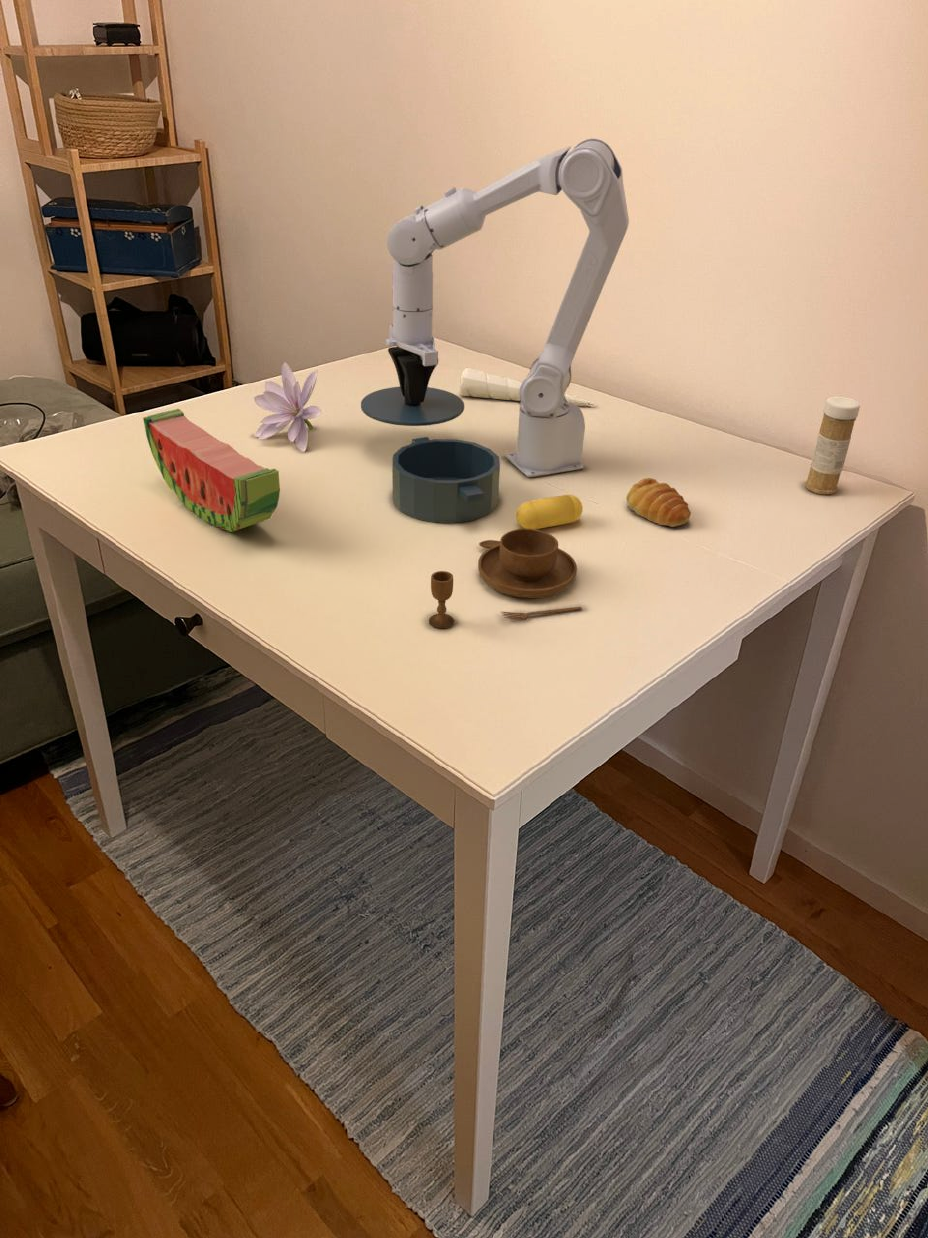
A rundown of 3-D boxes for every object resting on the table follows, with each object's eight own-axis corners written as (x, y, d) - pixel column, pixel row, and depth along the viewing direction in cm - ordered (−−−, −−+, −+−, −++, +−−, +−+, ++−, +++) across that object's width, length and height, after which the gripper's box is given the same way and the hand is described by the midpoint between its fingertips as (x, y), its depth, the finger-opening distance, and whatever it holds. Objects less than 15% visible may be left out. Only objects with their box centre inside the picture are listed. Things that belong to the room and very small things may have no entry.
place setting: (601, 609, 107) (607, 565, 104) (433, 633, 102) (434, 587, 99) (547, 539, 121) (551, 497, 118) (397, 556, 116) (397, 514, 113)
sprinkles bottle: (823, 480, 139) (846, 393, 132) (843, 493, 136) (868, 404, 128) (797, 484, 138) (819, 396, 130) (817, 497, 134) (841, 408, 127)
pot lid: (440, 388, 150) (441, 356, 147) (480, 422, 138) (482, 388, 135) (347, 399, 144) (346, 366, 141) (381, 435, 132) (380, 401, 130)
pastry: (701, 523, 126) (706, 497, 124) (664, 534, 123) (668, 508, 121) (655, 496, 133) (659, 471, 131) (619, 506, 130) (622, 481, 128)
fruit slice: (151, 484, 132) (139, 416, 126) (191, 473, 135) (182, 406, 130) (246, 555, 115) (237, 482, 110) (289, 540, 119) (283, 468, 113)
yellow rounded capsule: (572, 513, 128) (575, 488, 126) (586, 525, 125) (589, 499, 123) (510, 524, 125) (512, 498, 122) (523, 537, 122) (525, 510, 120)
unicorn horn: (591, 414, 159) (594, 387, 156) (457, 398, 164) (457, 372, 161) (595, 405, 163) (598, 378, 160) (464, 390, 168) (465, 363, 165)
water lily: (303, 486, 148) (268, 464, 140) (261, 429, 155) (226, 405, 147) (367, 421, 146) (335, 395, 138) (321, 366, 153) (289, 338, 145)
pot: (464, 464, 140) (465, 426, 137) (524, 521, 125) (526, 481, 122) (372, 478, 135) (371, 439, 132) (422, 539, 120) (423, 498, 117)
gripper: (369, 295, 137) (372, 385, 144) (404, 322, 126) (404, 418, 133) (414, 292, 139) (414, 380, 147) (452, 318, 128) (450, 412, 136)
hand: (412, 398), depth 140 cm, fingers closed on pot lid, 2 cm apart
